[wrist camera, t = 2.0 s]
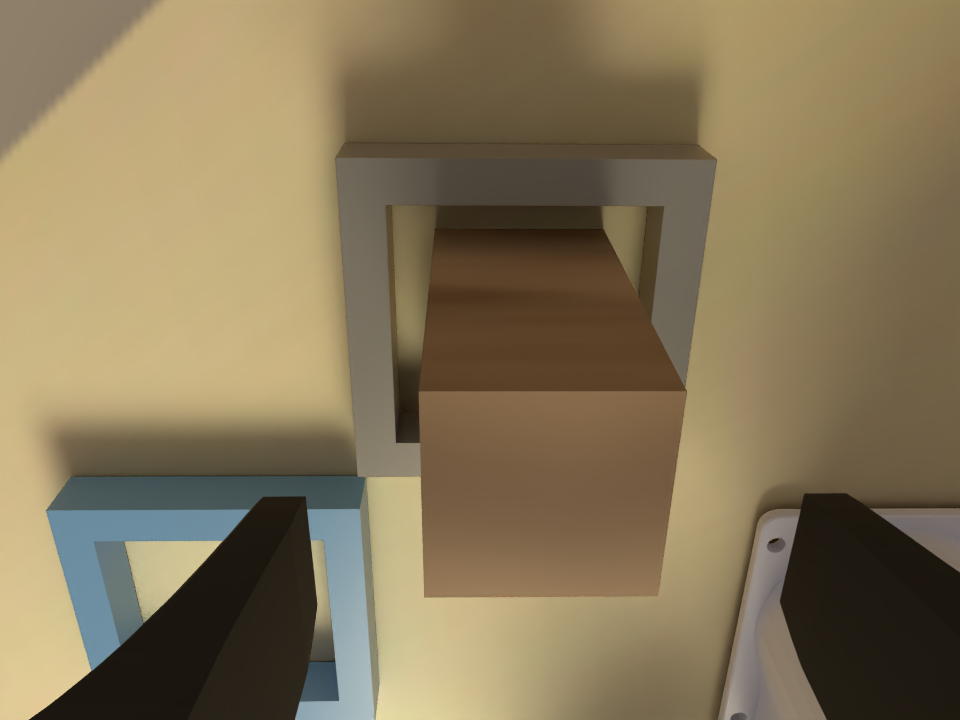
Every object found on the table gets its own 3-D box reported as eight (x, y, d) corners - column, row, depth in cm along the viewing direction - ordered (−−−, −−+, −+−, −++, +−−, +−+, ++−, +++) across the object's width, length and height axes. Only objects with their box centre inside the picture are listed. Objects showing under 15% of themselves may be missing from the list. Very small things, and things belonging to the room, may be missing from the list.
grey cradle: (659, 444, 22) (672, 475, 21) (364, 444, 22) (357, 476, 20) (698, 144, 18) (716, 159, 17) (344, 142, 18) (335, 157, 17)
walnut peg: (591, 378, 21) (657, 596, 14) (437, 378, 21) (424, 597, 14) (603, 229, 19) (687, 391, 12) (434, 228, 19) (418, 391, 12)
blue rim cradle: (379, 684, 26) (374, 724, 24) (126, 686, 26) (107, 727, 24) (366, 475, 22) (359, 509, 21) (71, 476, 22) (46, 510, 21)
